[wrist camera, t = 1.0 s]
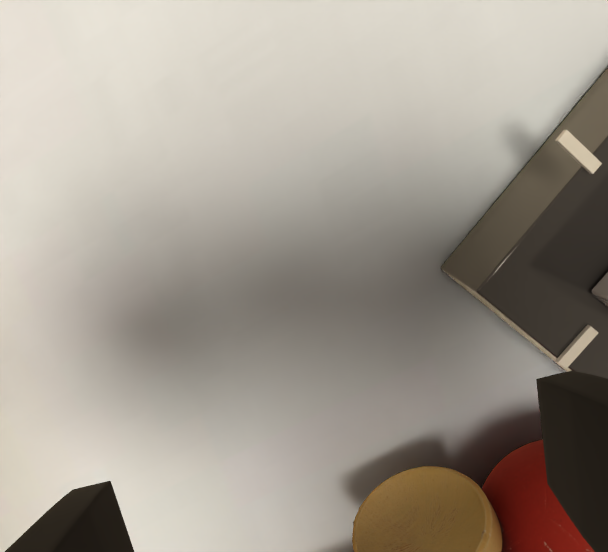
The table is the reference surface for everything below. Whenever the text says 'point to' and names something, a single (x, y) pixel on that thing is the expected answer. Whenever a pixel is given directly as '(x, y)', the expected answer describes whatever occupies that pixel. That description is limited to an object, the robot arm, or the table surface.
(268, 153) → the table surface
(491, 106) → the table surface
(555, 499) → the kendama
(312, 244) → the table surface
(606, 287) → the grey box-shaped piece
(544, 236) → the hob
